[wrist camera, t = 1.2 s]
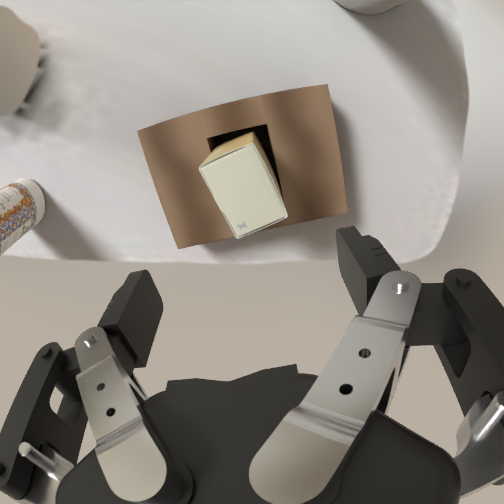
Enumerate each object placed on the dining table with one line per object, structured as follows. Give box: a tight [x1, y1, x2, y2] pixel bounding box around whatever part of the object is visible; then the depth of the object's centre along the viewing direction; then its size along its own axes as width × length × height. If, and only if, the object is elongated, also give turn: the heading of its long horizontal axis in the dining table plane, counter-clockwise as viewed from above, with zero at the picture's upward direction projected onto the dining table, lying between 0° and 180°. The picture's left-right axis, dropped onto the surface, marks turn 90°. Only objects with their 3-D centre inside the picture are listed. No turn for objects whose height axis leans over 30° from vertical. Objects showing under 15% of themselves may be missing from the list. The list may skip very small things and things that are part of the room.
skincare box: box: [199, 129, 288, 239], centre depth 26 cm, size 6×4×12 cm
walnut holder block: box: [137, 84, 348, 249], centre depth 29 cm, size 18×13×4 cm
